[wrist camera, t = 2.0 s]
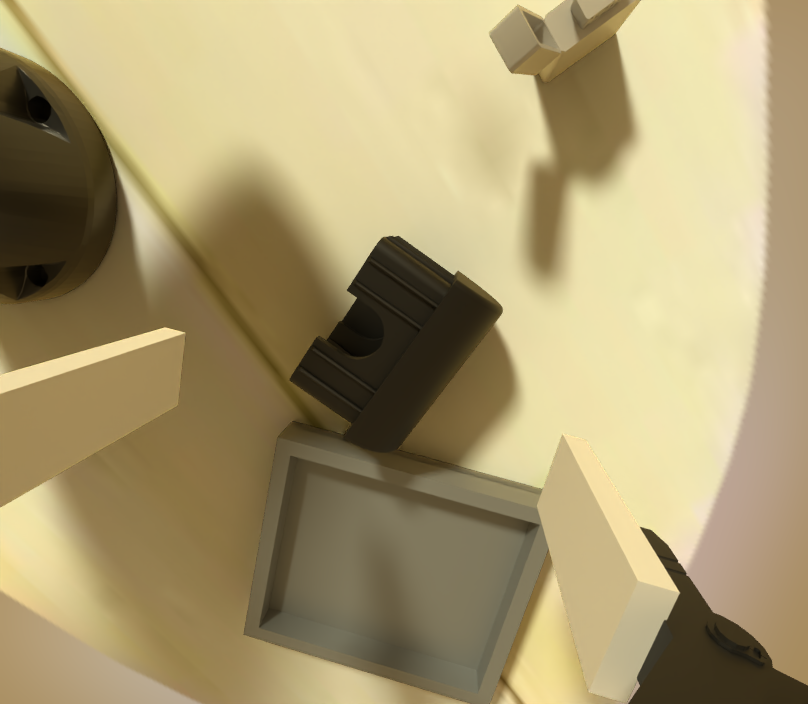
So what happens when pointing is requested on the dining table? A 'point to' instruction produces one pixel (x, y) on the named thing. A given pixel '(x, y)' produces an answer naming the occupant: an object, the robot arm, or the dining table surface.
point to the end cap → (396, 344)
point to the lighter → (557, 35)
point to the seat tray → (394, 563)
